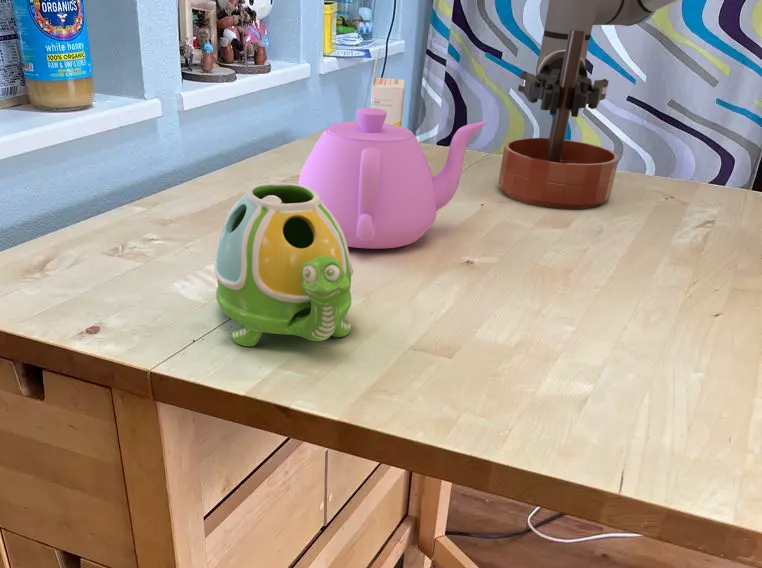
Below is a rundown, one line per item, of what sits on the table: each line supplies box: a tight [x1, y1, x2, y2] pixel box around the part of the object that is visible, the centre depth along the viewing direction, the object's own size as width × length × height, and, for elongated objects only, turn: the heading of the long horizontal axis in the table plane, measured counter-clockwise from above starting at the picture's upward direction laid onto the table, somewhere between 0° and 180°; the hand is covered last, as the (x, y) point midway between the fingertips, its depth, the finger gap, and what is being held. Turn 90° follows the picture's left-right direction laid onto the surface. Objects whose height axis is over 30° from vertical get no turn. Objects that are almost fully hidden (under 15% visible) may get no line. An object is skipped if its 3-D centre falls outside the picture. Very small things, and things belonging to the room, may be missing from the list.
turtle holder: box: [213, 182, 354, 347], centre depth 71 cm, size 12×18×12 cm
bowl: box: [498, 137, 620, 210], centre depth 118 cm, size 16×16×6 cm
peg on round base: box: [545, 29, 586, 162], centre depth 112 cm, size 6×6×18 cm
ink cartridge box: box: [369, 54, 406, 127], centre depth 123 cm, size 9×5×15 cm, turn 178°
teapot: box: [297, 107, 488, 250], centre depth 95 cm, size 22×22×14 cm
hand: (565, 104), depth 107 cm, fingers closed on peg on round base, 2 cm apart
